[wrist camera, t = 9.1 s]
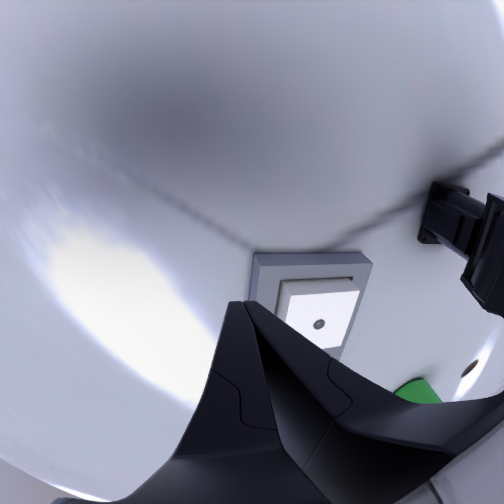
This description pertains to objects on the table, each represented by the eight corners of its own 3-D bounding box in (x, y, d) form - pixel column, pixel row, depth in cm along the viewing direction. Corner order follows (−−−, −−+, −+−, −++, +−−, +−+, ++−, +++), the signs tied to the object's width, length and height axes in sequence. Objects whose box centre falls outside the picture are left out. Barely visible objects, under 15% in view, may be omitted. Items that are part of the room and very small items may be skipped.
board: (361, 252, 26) (373, 263, 24) (301, 421, 37) (306, 432, 36) (254, 253, 23) (260, 266, 22) (232, 432, 35) (235, 444, 33)
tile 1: (343, 272, 25) (360, 291, 23) (327, 325, 28) (341, 346, 25) (278, 274, 24) (291, 296, 21) (268, 331, 26) (278, 355, 24)
